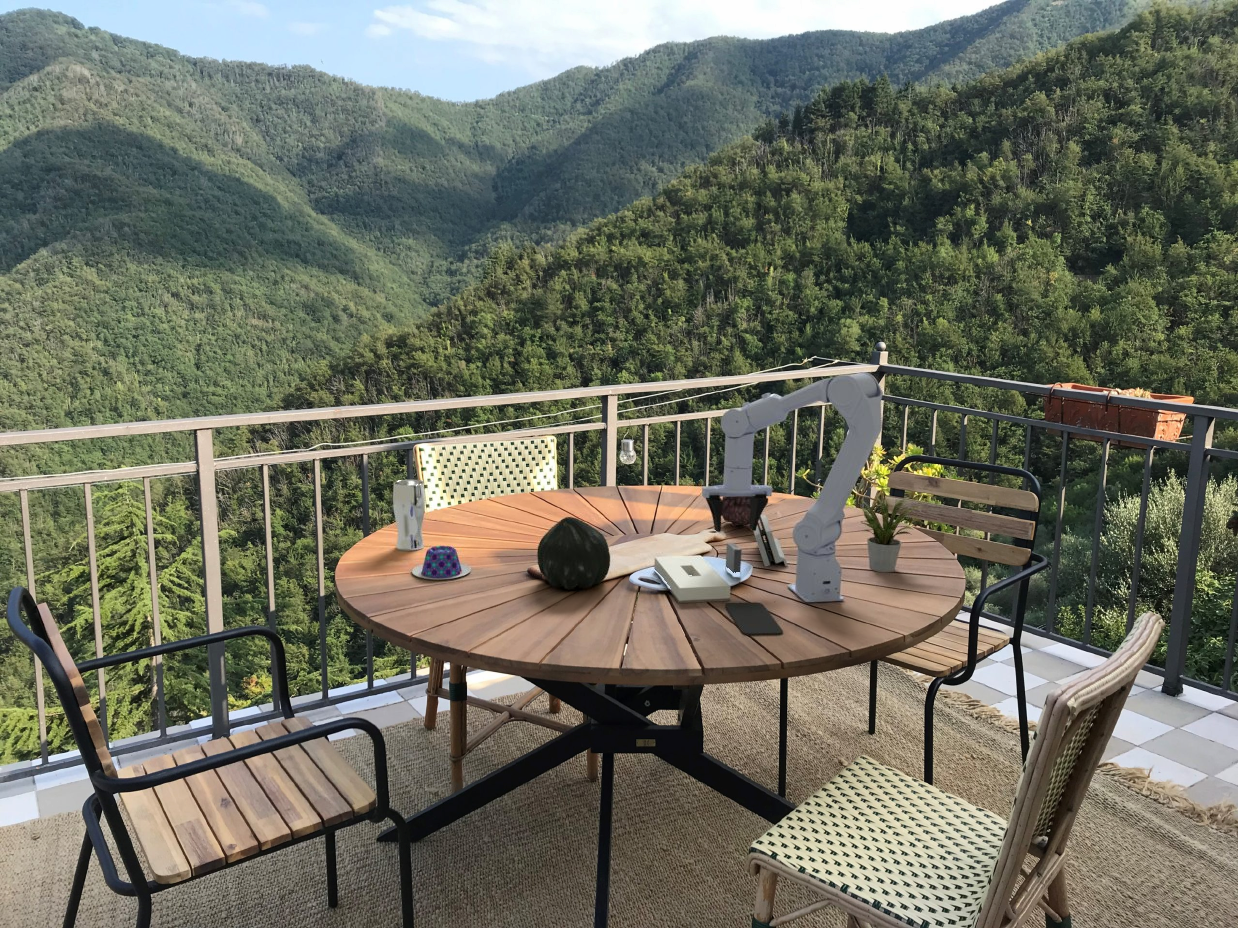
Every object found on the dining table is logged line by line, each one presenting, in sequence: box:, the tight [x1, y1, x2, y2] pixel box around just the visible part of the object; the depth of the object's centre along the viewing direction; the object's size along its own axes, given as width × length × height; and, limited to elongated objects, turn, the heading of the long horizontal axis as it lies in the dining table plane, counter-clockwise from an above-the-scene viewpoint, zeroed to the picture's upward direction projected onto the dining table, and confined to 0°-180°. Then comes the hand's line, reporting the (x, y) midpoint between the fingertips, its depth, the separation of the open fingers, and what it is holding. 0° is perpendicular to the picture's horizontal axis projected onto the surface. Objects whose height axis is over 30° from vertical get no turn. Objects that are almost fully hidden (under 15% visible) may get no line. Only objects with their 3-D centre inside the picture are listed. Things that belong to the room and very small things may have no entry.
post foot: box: [653, 554, 731, 604], centre depth 174 cm, size 20×10×3 cm, turn 11°
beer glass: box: [392, 479, 426, 552], centre depth 194 cm, size 7×7×15 cm
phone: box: [724, 601, 784, 637], centre depth 156 cm, size 7×1×15 cm
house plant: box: [860, 496, 922, 573], centre depth 187 cm, size 14×14×16 cm
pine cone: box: [721, 496, 750, 527], centre depth 219 cm, size 18×10×10 cm, turn 12°
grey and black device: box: [753, 514, 788, 567], centre depth 195 cm, size 17×5×10 cm, turn 176°
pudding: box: [411, 545, 472, 580], centre depth 179 cm, size 12×12×5 cm
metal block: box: [725, 542, 742, 573], centre depth 182 cm, size 5×2×6 cm, turn 11°
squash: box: [536, 516, 611, 591], centre depth 172 cm, size 14×15×15 cm
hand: (735, 530), depth 180 cm, fingers open, 7 cm apart
